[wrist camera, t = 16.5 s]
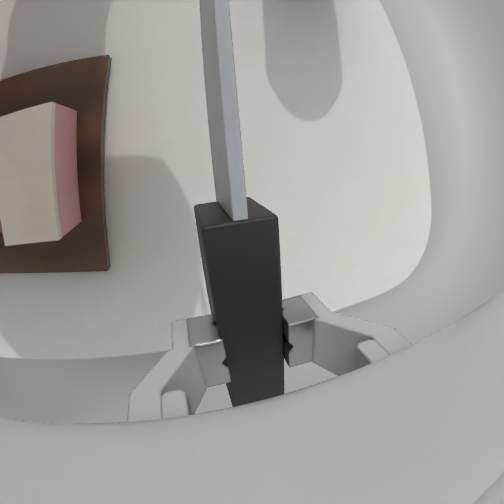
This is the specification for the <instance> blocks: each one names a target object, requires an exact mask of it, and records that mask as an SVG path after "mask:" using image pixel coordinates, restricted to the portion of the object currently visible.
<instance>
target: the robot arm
mask: <svg viewBox="0 0 504 504" xmlns="http://www.w3.org/2000/svg"><path fill="white" fill-rule="evenodd" d="M282 318H283V353H284V359H285V360H286V362H287V364H288V366H289V367H293V366H297V365H300V364H304V363H308V362H311V361H313V362H314V363H315V364H317V365H319V366H321V367H323V368H324V369H326V370H328V371H330V372H332V373H334V374H336V375H338V377H335V378H332V379H329V380H327V381H324V382H321V383H318V384H315V385H312V386H309V387H306V388H303V389H300V390H297V391H293V392H290V393H286V394H283V395H279V396H276V397H272V398H268V399H265V400H261V401H257V402H253V403H249V404H244V405H240V406H235V407H231V408H226V409H221V410H216V411H211V412H205V413H199V414H194V413H195V411H196V409H197V407H198V405H199V403H200V401H201V399H202V397H203V395H204V393H205V391H206V387H211V386H215V385H220V384H224V383H229V382H231V379H230V374H229V369H228V365H227V361H226V354H225V349H224V344H223V340H222V336H221V332H220V330H218V328H217V326H216V321H215V318H214V314H211V315H205V316H199V317H193V318H187V319H180V320H175V321H172V323H171V328H172V350H168V351H167V352H166V353H165V355H164V356H163V357H162V358H161V359H160V360H159V362H158V363H157V364H156V365H155V366H154V367H153V369H152V370H151V371H150V372H149V373H148V374H147V375H146V376H145V377H144V379H143V380H142V381H141V382H140V383H139V384H138V385H137V387H136V388H135V389H134V390H133V391H132V392H131V393H130V395H129V404H128V417H127V422H121V423H120V422H118V423H54V422H52V423H51V422H38V421H28V420H19V419H11V418H4V417H0V504H504V290H503V291H502V292H500V293H499V294H497V295H496V296H494V297H493V298H492V299H490V300H489V301H487V302H486V303H484V304H483V305H481V306H480V307H478V308H477V309H475V310H473V311H472V312H470V313H468V314H467V315H465V316H463V317H462V318H460V319H459V320H457V321H455V322H453V323H452V324H450V325H448V326H446V327H445V328H443V329H441V330H439V331H437V332H436V333H434V334H432V335H430V336H428V337H426V338H425V339H422V340H421V341H419V342H417V343H415V344H412V343H411V342H409V341H408V340H407V339H406V338H405V337H404V336H403V335H401V334H400V333H399V332H398V331H397V330H396V329H395V328H391V327H387V326H384V325H380V324H376V323H373V322H369V321H365V320H362V319H358V318H354V317H351V316H347V315H344V314H340V313H337V312H336V313H332V312H331V311H330V310H329V309H328V308H327V307H326V306H325V305H324V304H323V303H322V302H321V301H320V300H319V299H318V298H317V297H316V295H315V294H314V293H312V292H309V293H306V294H302V295H299V296H295V297H291V298H288V299H284V300H282Z"/></svg>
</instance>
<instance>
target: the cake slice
mask: <svg viewBox="0 0 504 504" xmlns="http://www.w3.org/2000/svg"><path fill="white" fill-rule="evenodd" d="M0 220H1V226H2V232H3V238H4V243H5V246H10V245H19V244H28V243H37V242H47V241H57V240H60V239H61V238H62V237H63V236H64V235H66V234H67V233H68V232H69V231H70V230H72V229H73V228H74V227H75V226H76V225H78V224H79V223H80V222H81V221H82V220H81V212H80V202H79V190H78V175H77V111H76V110H73V109H70V108H68V107H65V106H62V105H59V104H57V103H55V102H48V103H44V104H41V105H37V106H33V107H30V108H26V109H23V110H20V111H17V112H14V113H11V114H8V115H5V116H2V117H0Z"/></svg>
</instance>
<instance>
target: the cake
mask: <svg viewBox="0 0 504 504" xmlns="http://www.w3.org/2000/svg"><path fill="white" fill-rule="evenodd" d="M110 64H111V57H110V56H109V55H106V56H98V57H92V58H86V59H80V60H74V61H69V62H65V63H60V64H56V65H51V66H47V67H43V68H40V69H36V70H32V71H29V72H26V73H22V74H19V75H16V76H13V77H10V78H7V79H4V80H2V81H0V117H2V116H5V115H8V114H11V113H14V112H17V111H20V110H23V109H26V108H30V107H33V106H37V105H41V104H44V103H48V102H55V103H57V104H59V105H62V106H65V107H68V108H70V109H73V110H76V111H77V175H78V190H79V202H80V212H81V220H82V221H81V222H80V223H79V224H78V225H76V226H75V227H74V228H73V229H72V230H70V231H69V232H68V233H67V234H66V235H64V236H63V237H62V238H61V239H60V240H57V241H47V242H37V243H28V244H19V245H10V246H5V243H4V238H3V232H2V226H1V220H0V273H48V272H90V271H108V270H109V268H110V260H109V252H108V243H107V232H106V219H105V203H104V168H103V160H104V125H105V110H106V98H107V88H108V79H109V71H110Z"/></svg>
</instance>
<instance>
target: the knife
mask: <svg viewBox="0 0 504 504" xmlns="http://www.w3.org/2000/svg"><path fill="white" fill-rule="evenodd" d="M200 18H201V35H202V50H203V64H204V77H205V90H206V102H207V113H208V124H209V134H210V145H211V155H212V164H213V174H214V183H215V192H216V200H217V202H211V203H204V204H198V205H195V206H194V211H195V218H196V225H197V231H198V238H199V245H200V251H201V257H202V263H203V270H204V275H205V281H206V287H207V293H208V298H209V304H210V309H211V314H214V318H215V321H216V326H217V328H218V330H220V332H221V336H222V340H223V344H224V349H225V354H226V361H227V365H228V369H229V374H230V379H231V382H229V383H226V385H227V388H228V391H229V395H230V399H231V402H232V405H233V407H235V406H240V405H244V404H249V403H253V402H257V401H261V400H265V399H268V398H272V397H276V396H279V395H283V394H284V353H283V318H282V289H281V266H280V245H279V227H278V217H277V215H275V214H274V213H272V212H271V211H269V210H268V209H266V208H265V207H263V206H262V205H260V204H259V203H257V202H256V201H254V200H253V199H251V198H249V197H246V188H245V177H244V166H243V154H242V143H241V132H240V121H239V110H238V99H237V87H236V76H235V65H234V54H233V42H232V31H231V20H230V9H229V0H200Z"/></svg>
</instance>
